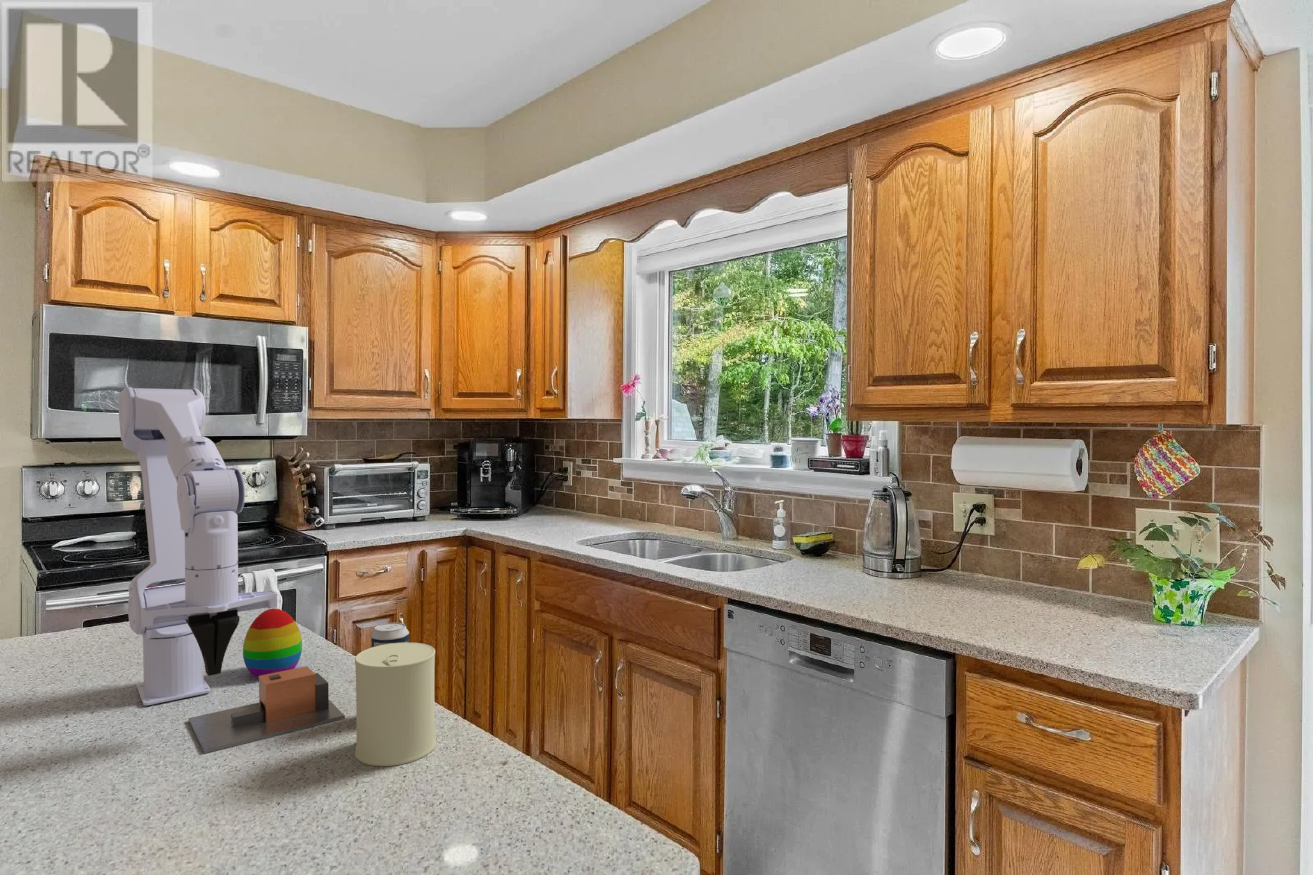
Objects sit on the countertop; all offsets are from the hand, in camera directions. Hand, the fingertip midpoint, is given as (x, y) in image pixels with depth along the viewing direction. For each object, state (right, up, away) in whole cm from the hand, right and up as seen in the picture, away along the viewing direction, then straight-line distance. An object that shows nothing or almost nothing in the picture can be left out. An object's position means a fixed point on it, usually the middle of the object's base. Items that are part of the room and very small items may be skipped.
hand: (213, 672), depth 93 cm
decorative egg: (-4, -7, +22) cm, 23 cm away
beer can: (+20, -8, +5) cm, 23 cm away
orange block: (+7, -7, +6) cm, 11 cm away
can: (+25, -8, -4) cm, 26 cm away
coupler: (+5, -8, +4) cm, 10 cm away
